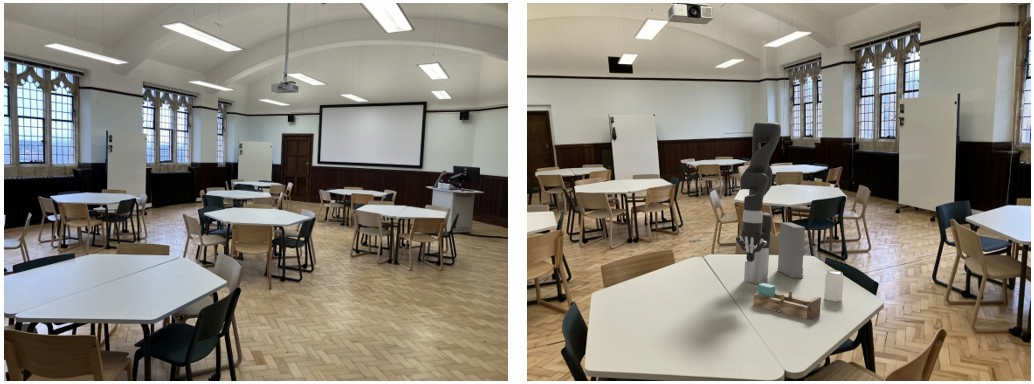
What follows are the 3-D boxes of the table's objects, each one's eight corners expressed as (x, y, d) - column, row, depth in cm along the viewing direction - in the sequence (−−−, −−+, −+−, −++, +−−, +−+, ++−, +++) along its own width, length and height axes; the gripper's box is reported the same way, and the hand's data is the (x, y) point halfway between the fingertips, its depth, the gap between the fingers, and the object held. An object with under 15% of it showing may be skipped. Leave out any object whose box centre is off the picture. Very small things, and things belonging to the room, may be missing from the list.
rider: (757, 296, 215) (758, 284, 214) (762, 294, 217) (763, 282, 216) (769, 299, 211) (770, 287, 210) (774, 297, 213) (775, 285, 213)
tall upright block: (803, 278, 252) (807, 227, 249) (791, 278, 252) (794, 227, 249) (789, 270, 265) (792, 222, 262) (777, 270, 265) (780, 222, 262)
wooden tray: (753, 304, 214) (754, 288, 213) (763, 300, 219) (764, 284, 219) (809, 320, 197) (811, 302, 196) (819, 314, 202) (821, 297, 201)
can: (844, 302, 216) (846, 274, 215) (827, 301, 217) (829, 273, 216) (838, 297, 222) (840, 270, 221) (821, 296, 224) (823, 269, 222)
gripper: (732, 219, 219) (730, 259, 221) (763, 223, 209) (761, 265, 211) (741, 217, 223) (739, 257, 225) (772, 221, 213) (770, 262, 215)
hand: (750, 261), depth 218 cm, fingers closed
